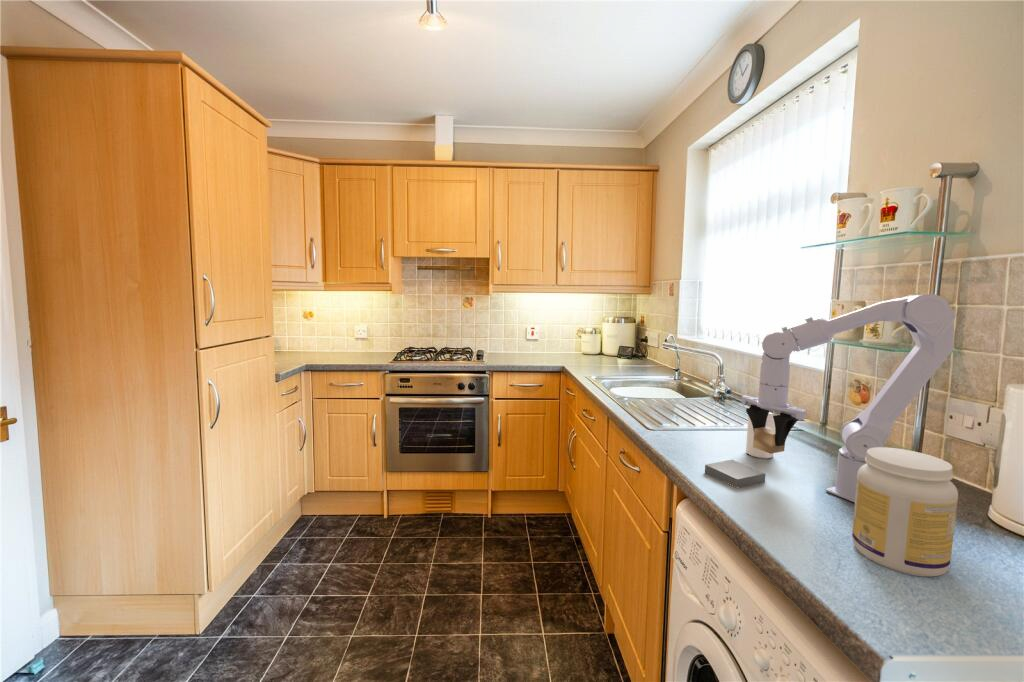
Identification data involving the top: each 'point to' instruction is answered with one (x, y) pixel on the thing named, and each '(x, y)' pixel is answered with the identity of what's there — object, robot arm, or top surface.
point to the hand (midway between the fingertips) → (769, 441)
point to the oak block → (766, 440)
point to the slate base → (735, 473)
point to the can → (750, 438)
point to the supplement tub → (905, 511)
